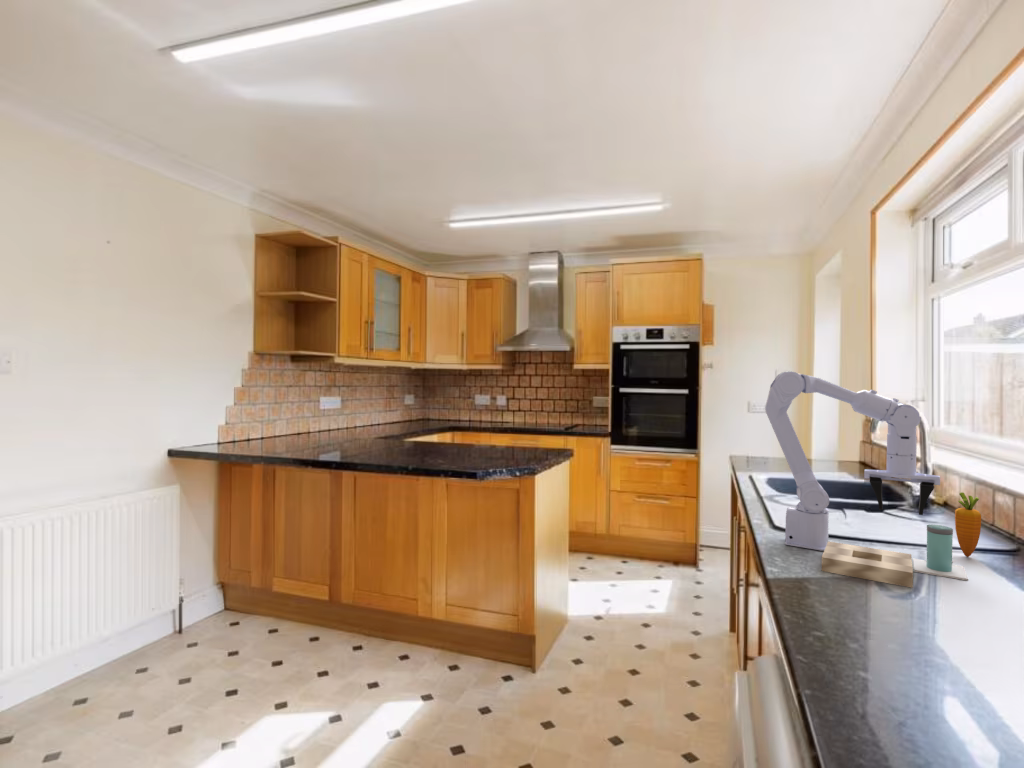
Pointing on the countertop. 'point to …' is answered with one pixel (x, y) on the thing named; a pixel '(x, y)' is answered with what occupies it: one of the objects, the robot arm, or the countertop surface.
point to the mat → (956, 572)
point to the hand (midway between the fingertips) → (900, 511)
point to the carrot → (967, 525)
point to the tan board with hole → (868, 563)
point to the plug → (939, 548)
